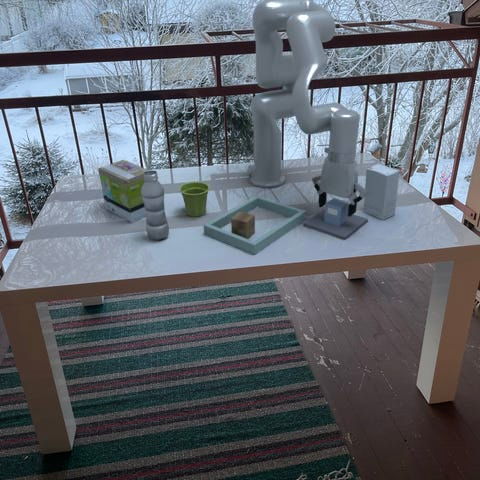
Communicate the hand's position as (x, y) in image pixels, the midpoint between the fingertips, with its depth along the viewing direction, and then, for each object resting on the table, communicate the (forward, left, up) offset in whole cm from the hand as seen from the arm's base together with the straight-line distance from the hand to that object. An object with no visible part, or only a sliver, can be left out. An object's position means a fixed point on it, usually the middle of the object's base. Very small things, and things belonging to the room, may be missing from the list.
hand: (336, 210), depth 140 cm
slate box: (0, 0, -4) cm, 4 cm away
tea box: (-57, -32, -5) cm, 65 cm away
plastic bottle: (-37, -38, -5) cm, 53 cm away
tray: (-18, -16, -5) cm, 24 cm away
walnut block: (-18, -22, -5) cm, 29 cm away
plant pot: (-39, -20, -5) cm, 44 cm away
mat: (0, 0, -5) cm, 5 cm away
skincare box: (+7, +14, -5) cm, 16 cm away
